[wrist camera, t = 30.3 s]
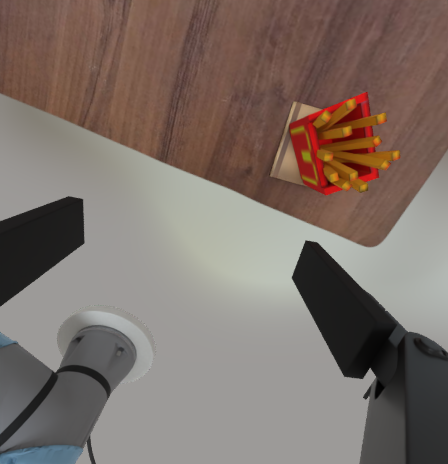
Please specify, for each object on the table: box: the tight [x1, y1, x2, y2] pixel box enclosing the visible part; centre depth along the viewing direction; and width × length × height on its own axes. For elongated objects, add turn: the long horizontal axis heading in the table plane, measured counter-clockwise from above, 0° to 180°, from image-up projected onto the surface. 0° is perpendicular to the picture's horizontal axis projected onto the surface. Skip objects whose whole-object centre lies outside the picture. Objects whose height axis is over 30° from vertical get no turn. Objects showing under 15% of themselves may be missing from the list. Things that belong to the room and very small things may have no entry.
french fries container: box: [289, 92, 400, 195], centre depth 28 cm, size 7×9×14 cm
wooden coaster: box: [269, 102, 334, 194], centre depth 35 cm, size 11×11×1 cm
